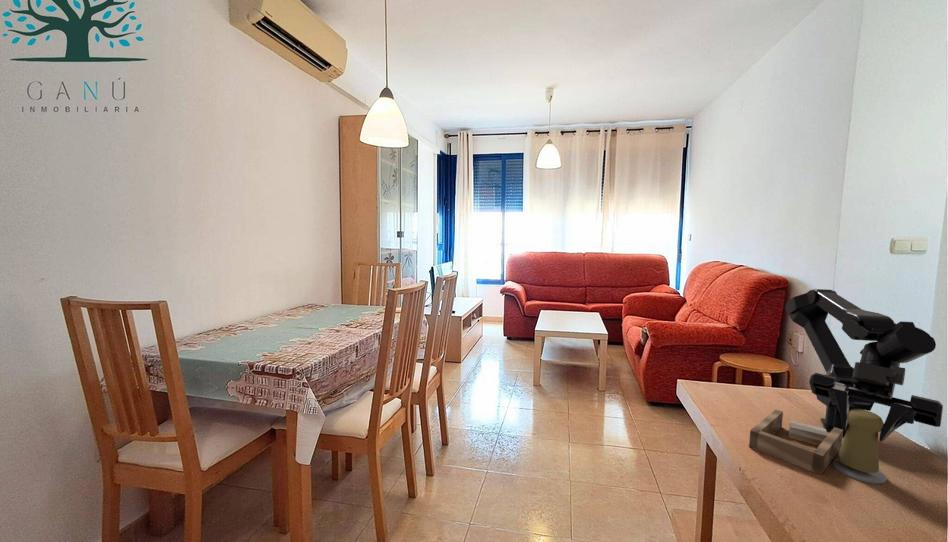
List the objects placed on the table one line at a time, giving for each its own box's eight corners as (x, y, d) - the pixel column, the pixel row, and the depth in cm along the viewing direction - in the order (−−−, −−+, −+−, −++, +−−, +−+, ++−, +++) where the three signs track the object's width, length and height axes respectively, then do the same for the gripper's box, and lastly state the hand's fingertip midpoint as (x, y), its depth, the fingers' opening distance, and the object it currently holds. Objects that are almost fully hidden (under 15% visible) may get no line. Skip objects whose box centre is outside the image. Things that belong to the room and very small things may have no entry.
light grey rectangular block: (789, 431, 94) (790, 420, 94) (828, 442, 90) (829, 430, 89) (788, 438, 91) (789, 426, 91) (828, 449, 86) (829, 437, 86)
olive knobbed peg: (835, 462, 79) (843, 411, 77) (838, 450, 83) (846, 402, 81) (878, 477, 74) (887, 423, 73) (879, 464, 78) (888, 413, 77)
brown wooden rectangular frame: (774, 424, 97) (775, 409, 97) (841, 446, 87) (843, 429, 87) (749, 447, 87) (750, 430, 87) (821, 474, 77) (823, 456, 77)
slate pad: (829, 456, 83) (829, 454, 83) (879, 468, 79) (879, 466, 79) (837, 475, 77) (838, 472, 77) (892, 489, 73) (892, 486, 73)
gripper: (815, 337, 85) (795, 398, 80) (949, 360, 70) (935, 437, 65) (821, 363, 91) (803, 422, 85) (946, 390, 76) (933, 463, 71)
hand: (861, 434), depth 77 cm, fingers closed on olive knobbed peg, 5 cm apart
